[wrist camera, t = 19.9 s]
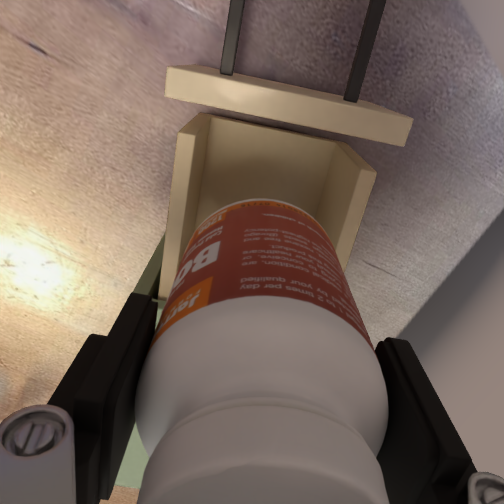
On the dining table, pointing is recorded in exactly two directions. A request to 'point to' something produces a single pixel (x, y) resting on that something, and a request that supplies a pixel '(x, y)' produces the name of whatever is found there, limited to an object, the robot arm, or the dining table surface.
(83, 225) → the dining table surface
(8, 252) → the dining table surface
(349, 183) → the drawer
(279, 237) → the pill bottle
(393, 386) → the robot arm
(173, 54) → the dining table surface
